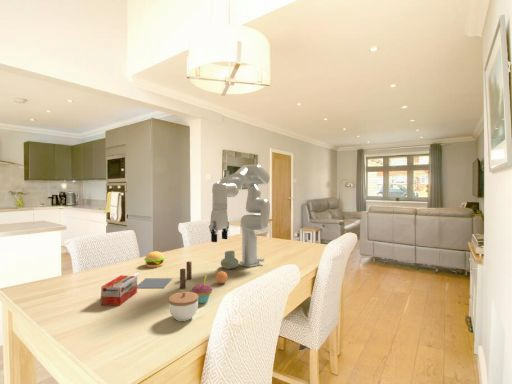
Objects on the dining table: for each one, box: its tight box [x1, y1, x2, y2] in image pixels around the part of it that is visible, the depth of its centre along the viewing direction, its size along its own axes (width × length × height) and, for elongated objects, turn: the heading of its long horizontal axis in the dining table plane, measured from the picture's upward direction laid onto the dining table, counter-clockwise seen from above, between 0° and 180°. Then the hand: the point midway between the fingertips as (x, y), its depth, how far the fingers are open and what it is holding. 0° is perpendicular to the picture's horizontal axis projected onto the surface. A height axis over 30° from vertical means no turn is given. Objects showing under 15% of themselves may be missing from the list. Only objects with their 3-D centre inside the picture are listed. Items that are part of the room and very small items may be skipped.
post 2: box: [185, 260, 193, 281], centre depth 144 cm, size 3×3×9 cm
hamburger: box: [144, 250, 166, 269], centre depth 169 cm, size 12×12×9 cm
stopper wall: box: [131, 272, 141, 280], centre depth 137 cm, size 2×18×2 cm, turn 1°
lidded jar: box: [168, 291, 199, 322], centre depth 101 cm, size 11×11×9 cm
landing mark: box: [137, 277, 173, 289], centre depth 137 cm, size 14×14×1 cm
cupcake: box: [191, 274, 213, 304], centre depth 116 cm, size 9×8×12 cm
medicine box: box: [100, 275, 138, 307], centre depth 118 cm, size 15×8×8 cm, turn 177°
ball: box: [215, 270, 228, 284], centre depth 138 cm, size 6×6×6 cm
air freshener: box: [220, 250, 240, 270], centre depth 165 cm, size 11×8×10 cm
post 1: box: [179, 268, 187, 290], centre depth 131 cm, size 3×3×9 cm
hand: (219, 240), depth 140 cm, fingers open, 9 cm apart
